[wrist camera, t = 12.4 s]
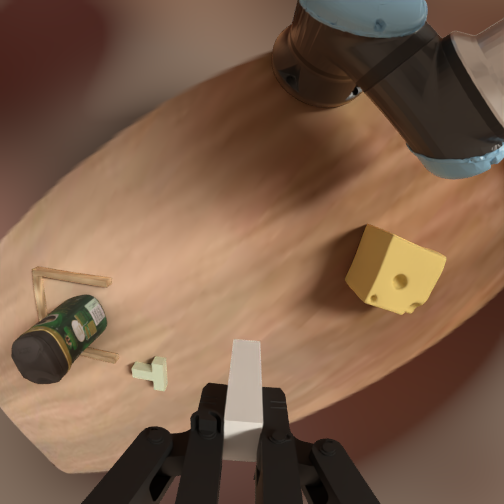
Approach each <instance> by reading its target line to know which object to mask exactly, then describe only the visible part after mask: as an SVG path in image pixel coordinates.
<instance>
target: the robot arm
mask: <svg viewBox="0 0 504 504" xmlns="http://www.w3.org/2000/svg"><path fill="white" fill-rule="evenodd" d="M426 16H427V4H426V2H425V1H424V0H297V5H296V8H295V12H294V17H293V21H292V24H291V25H289V26H288V27H286V28H285V29H284V30H283V31H282V32H281V33H280V35H279V36H278V37H277V39H276V41H275V44H274V47H273V52H272V67H273V71H274V74H275V76H276V78H277V80H278V81H279V83H280V84H281V86H282V87H283V88H284V89H285V90H286V91H287V92H288V93H289V94H291V95H292V96H293V97H295V98H296V99H298V100H300V101H302V102H304V103H306V104H309V105H312V106H317V107H325V108H330V107H338V106H342V105H344V104H347V103H349V102H351V101H352V100H354V99H355V98H356V97H357V96H359V95H360V94H361V93H362V92H364V93H365V94H366V95H367V96H368V97H369V98H370V99H371V101H372V102H373V103H374V104H375V105H376V106H377V107H378V108H379V110H380V111H381V112H382V113H383V114H384V115H385V117H386V118H387V119H388V120H389V121H390V123H391V124H392V125H393V126H394V127H395V129H396V130H397V131H398V132H399V134H400V135H401V136H402V138H403V139H404V140H405V141H406V145H407V147H408V149H409V150H410V151H411V152H412V153H413V154H414V155H416V156H417V157H418V159H419V160H420V161H421V162H422V164H423V165H424V166H425V168H426V169H427V170H428V171H430V172H431V173H433V174H434V175H436V176H438V177H441V178H445V179H463V178H468V177H472V176H475V175H478V174H481V173H483V172H485V171H487V170H489V169H490V168H491V166H490V165H491V164H498V163H499V162H500V161H501V160H502V159H503V158H504V19H502V20H500V21H499V22H497V23H496V24H494V25H493V26H491V27H489V28H487V29H486V30H484V31H483V32H481V33H480V34H478V35H475V36H474V35H469V34H465V33H462V32H458V31H453V32H451V33H450V34H449V35H447V36H446V37H444V38H441V37H440V36H439V35H438V34H437V33H436V31H435V30H434V29H433V28H432V27H431V26H430V25H429V24H428V23H427V22H426V19H427V18H426ZM190 420H191V429H190V430H188V431H186V432H182V433H174V434H170V432H169V431H168V430H166V429H164V428H162V427H157V426H155V427H148V428H145V429H144V430H143V431H142V432H141V433H140V434H139V435H138V436H137V438H136V439H135V440H134V441H133V443H132V444H131V445H130V446H129V447H128V449H127V450H126V451H125V452H124V453H123V455H122V456H121V457H120V458H119V460H118V461H117V462H116V463H115V464H114V466H113V467H112V468H111V469H110V470H109V471H108V473H107V474H106V475H105V476H104V477H103V479H102V480H101V481H100V482H99V483H98V485H97V486H96V487H95V488H94V489H93V491H92V492H91V493H90V494H89V495H88V496H87V497H86V499H85V500H84V501H83V502H82V503H81V504H159V503H160V501H161V500H162V498H163V496H164V495H165V493H166V491H167V490H168V488H169V486H170V485H171V483H172V482H173V480H174V478H175V477H176V476H179V475H181V478H180V483H179V487H178V492H177V497H176V501H175V504H218V501H219V500H218V499H219V490H220V480H221V470H222V459H224V460H235V461H251V462H256V459H257V465H256V470H255V475H254V480H255V504H303V500H302V492H301V489H302V491H303V493H304V495H305V497H306V499H307V502H308V504H380V502H379V501H378V499H377V498H376V496H375V495H374V494H373V492H372V490H371V489H370V487H369V486H368V485H367V483H366V482H365V480H364V479H363V477H362V476H361V474H360V472H359V471H358V469H357V468H356V466H355V465H354V463H353V462H352V460H351V459H350V457H349V456H348V454H347V453H346V451H345V449H344V448H343V446H342V445H341V444H340V443H339V442H337V441H335V440H332V439H320V440H318V441H316V442H315V443H314V444H312V443H308V442H303V441H300V440H298V439H297V438H295V437H294V436H293V434H292V433H291V432H290V428H289V420H288V412H287V405H286V397H285V394H284V392H283V391H282V390H281V389H280V388H271V387H262V376H261V350H260V341H251V340H239V339H234V340H233V349H232V357H231V365H230V373H229V382H228V385H224V384H215V383H208V384H207V385H206V386H205V387H204V388H203V390H202V394H201V399H200V403H199V408H198V411H196V412H195V413H193V414H192V416H191V418H190Z"/></svg>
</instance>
